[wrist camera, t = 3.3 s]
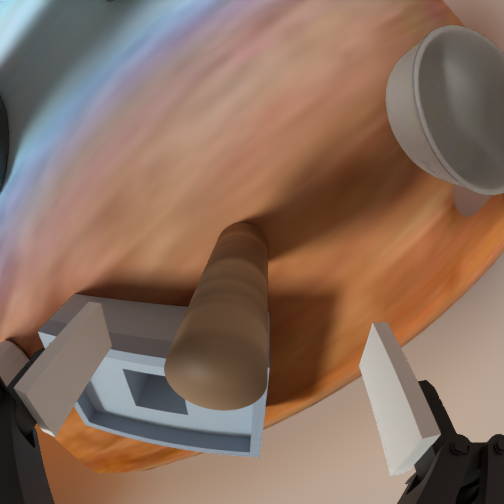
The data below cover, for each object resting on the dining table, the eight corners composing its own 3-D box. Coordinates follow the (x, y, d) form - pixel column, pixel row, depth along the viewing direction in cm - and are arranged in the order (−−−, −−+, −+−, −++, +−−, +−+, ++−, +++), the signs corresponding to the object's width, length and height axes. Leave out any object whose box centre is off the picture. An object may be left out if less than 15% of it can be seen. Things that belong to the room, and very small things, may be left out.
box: (74, 293, 26) (37, 331, 20) (269, 312, 25) (269, 367, 19) (105, 385, 31) (85, 424, 25) (261, 407, 31) (259, 457, 24)
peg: (217, 221, 23) (156, 335, 10) (269, 223, 22) (271, 345, 9) (217, 268, 24) (172, 404, 11) (266, 271, 24) (264, 413, 11)
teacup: (382, 183, 21) (434, 208, 13) (353, 49, 17) (393, 13, 9) (500, 166, 19) (558, 184, 11) (481, 56, 15) (537, 45, 8)
